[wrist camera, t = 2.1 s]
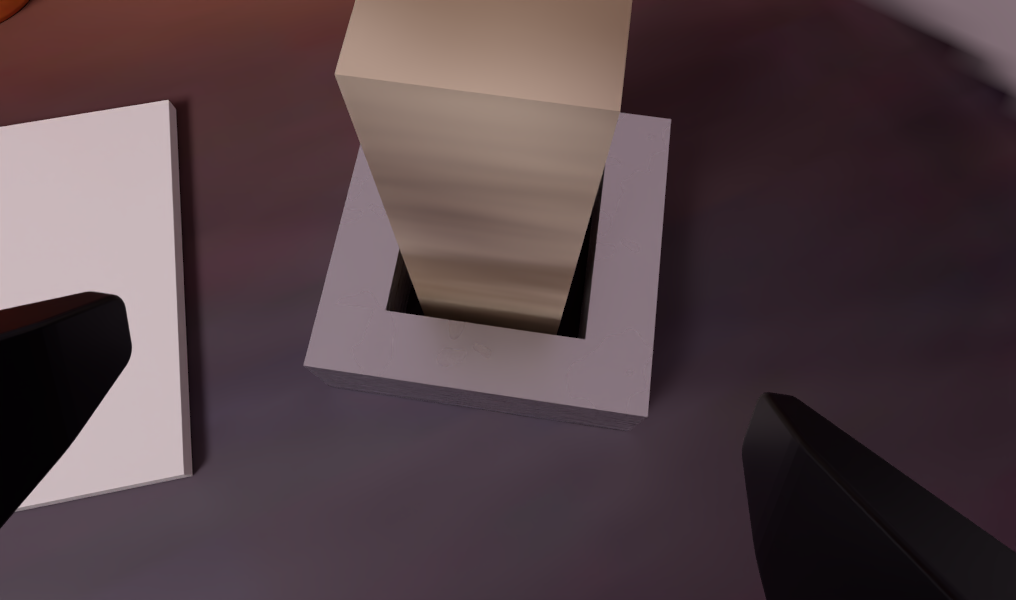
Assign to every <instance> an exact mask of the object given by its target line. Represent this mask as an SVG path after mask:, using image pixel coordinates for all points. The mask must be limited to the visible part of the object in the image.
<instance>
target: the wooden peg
mask: <svg viewBox="0 0 1016 600" xmlns="http://www.w3.org/2000/svg"><path fill="white" fill-rule="evenodd" d="M631 7H632V0H356V1H355V4H354V8H353V11H352V15H351V18H350V22H349V25H348V29H347V32H346V36H345V39H344V43H343V46H342V50H341V53H340V57H339V60H338V64H337V67H336V71H335V77H336V79H337V82H338V85H339V87H340V90H341V93H342V95H343V98H344V101H345V103H346V106H347V109H348V111H349V114H350V117H351V120H352V122H353V125H354V128H355V130H356V133H357V136H358V138H359V141H360V144H361V146H362V149H363V152H364V154H365V157H366V160H367V163H368V165H369V168H370V171H371V173H372V176H373V179H374V181H375V184H376V187H377V189H378V192H379V195H380V197H381V200H382V203H383V206H384V208H385V211H386V214H387V216H388V219H389V222H390V224H391V227H392V230H393V232H394V235H395V238H396V240H397V243H398V246H399V249H400V251H401V254H402V257H403V259H404V262H405V265H406V267H407V270H408V273H409V275H410V278H411V281H412V283H413V286H414V289H415V291H416V294H417V297H418V300H419V302H420V305H421V308H422V310H423V313H424V316H427V317H433V318H440V319H447V320H454V321H461V322H468V323H475V324H482V325H489V326H495V327H502V328H509V329H516V330H523V331H530V332H537V333H544V334H551V335H557V332H558V328H559V325H560V321H561V318H562V314H563V311H564V307H565V304H566V300H567V297H568V293H569V290H570V286H571V283H572V279H573V275H574V272H575V268H576V265H577V261H578V258H579V254H580V251H581V247H582V244H583V240H584V237H585V233H586V230H587V226H588V223H589V219H590V216H591V212H592V209H593V205H594V202H595V198H596V195H597V191H598V188H599V184H600V181H601V177H602V174H603V170H604V167H605V163H606V159H607V156H608V152H609V149H610V145H611V142H612V138H613V135H614V131H615V128H616V124H617V121H618V117H619V114H620V108H621V99H622V90H623V81H624V72H625V62H626V53H627V44H628V35H629V26H630V17H631Z"/></svg>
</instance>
